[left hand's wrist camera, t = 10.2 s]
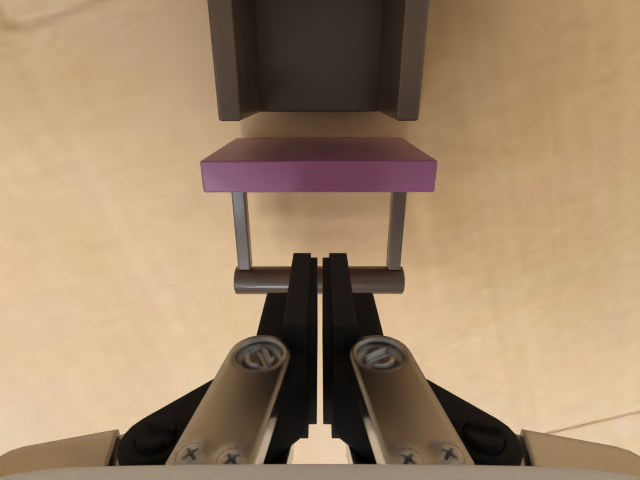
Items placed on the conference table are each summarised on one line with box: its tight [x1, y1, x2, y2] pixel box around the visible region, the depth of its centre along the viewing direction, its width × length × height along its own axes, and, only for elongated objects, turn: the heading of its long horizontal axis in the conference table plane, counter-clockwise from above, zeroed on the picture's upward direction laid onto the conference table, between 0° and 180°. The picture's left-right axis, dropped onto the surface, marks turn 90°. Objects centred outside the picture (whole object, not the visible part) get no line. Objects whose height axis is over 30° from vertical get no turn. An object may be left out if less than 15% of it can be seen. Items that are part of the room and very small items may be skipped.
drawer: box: [200, 0, 437, 294], centre depth 15 cm, size 24×9×7 cm, turn 0°
